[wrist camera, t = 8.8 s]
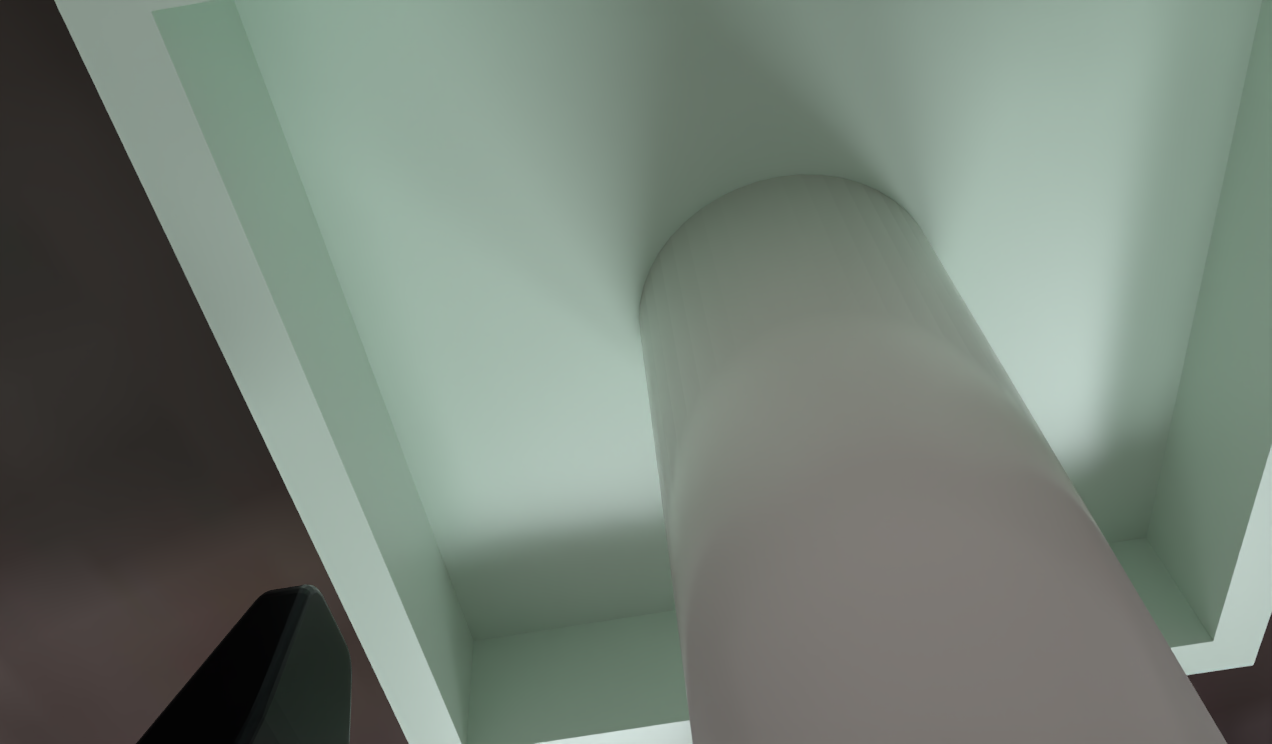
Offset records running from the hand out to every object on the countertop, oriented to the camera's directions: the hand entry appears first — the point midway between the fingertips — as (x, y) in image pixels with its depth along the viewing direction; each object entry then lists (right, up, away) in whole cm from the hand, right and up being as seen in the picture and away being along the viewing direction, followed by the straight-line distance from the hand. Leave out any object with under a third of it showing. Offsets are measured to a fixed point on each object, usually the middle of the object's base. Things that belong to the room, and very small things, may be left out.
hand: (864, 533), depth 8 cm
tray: (0, +2, +3) cm, 4 cm away
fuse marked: (0, +2, +3) cm, 3 cm away
